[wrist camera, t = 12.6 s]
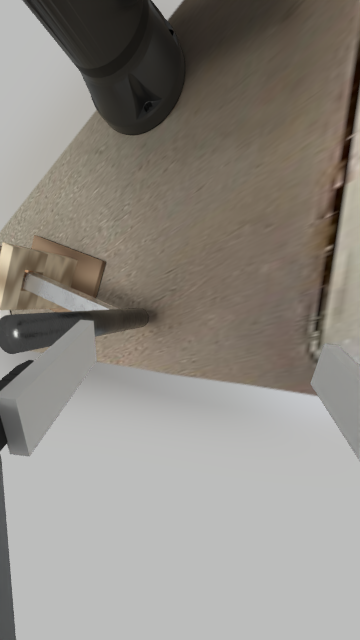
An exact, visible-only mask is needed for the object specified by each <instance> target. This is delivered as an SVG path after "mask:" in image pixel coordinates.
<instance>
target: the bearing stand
mask: <svg viewBox="0 0 360 640" xmlns="http://www.w3.org/2000/svg"><path fill="white" fill-rule="evenodd" d="M105 264H106V262H105V261H102V260H100V259H97V258H95V257H92V256H89V255H87V254H84V253H81V252H79V251H76V250H73V249H71V248H68V247H65V246H63V245H60V244H58V243H55V242H52V241H50V240H47V239H44V238H42V237H39V236H36V235H34V239H33V243H32V248H31V249H30V248H26V247H21V246H17V245H12V244H8V243H4V242H3V244H2V246H0V310H22V309H50V310H53V311H55V312H71V311H70V310H68V309H66V308H64V307H62V306H60V305H57V304H55V303H53V302H51V301H49V300H47V299H45V298H42V297H40V296H38V295H36V294H34V293H32V292H30V291H27V290H25V289H23V288H21V286H22V281H23V277H24V272H25V270H29V271H34V272H33V273H38V274H41V275H43V276H45V277H48V278H50V279H52V280H55V281H57V282H59V283H62V284H64V285H66V286H68V287H71V288H73V289H75V290H78V291H80V292H82V293H85V294H87V295H89V296H92V297H94V298H96V296H97V292H98V289H99V285H100V282H101V278H102V275H103V271H104V267H105Z"/></svg>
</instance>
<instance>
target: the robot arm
mask: <svg viewBox="0 0 360 640" xmlns="http://www.w3.org/2000/svg"><path fill="white" fill-rule="evenodd" d="M23 1H24V2H25V4H26V5H27V6H28V8H29V9H30V10H31V11H32V13H33V14H34V15H35V16H36V17H37V19H38V20H39V21H40V22H41V24H43V26H44V27H45V28H46V30H47V31H48V32H49V33H50V35H51V36H52V37H53V38H54V40H55V41H56V42H57V43H58V45H59V46H60V47H61V48H62V49H63V51H64V52H65V53H66V54H67V55H68V57H69V58H70V59H71V60H72V62H73V63H74V64H75V65H76V67H77V68H78V69H79V71H80V72H81V74H82V76H83V79H84V81H85V82H86V85H87V87H88V89H89V91H90V94H91V97H92V100H93V102H94V105H95V107H96V109H97V111H98V112H99V114H100V115H101V116H102V117H103V119H104V120H105V121H106V122H107V123H108V124H109V125H110V126H111V127H112V128H113V129H114V130H116V131H118V132H120V133H123V134H128V135H134V134H140V133H143V132H146V131H148V130H150V129H152V128H154V127H155V126H157V125H158V124H159V123H160V122H161V121H162V120H163V119H164V118H165V117H166V116H167V115H168V114H169V113H170V111H171V110H172V108H173V107H174V105H175V104H176V102H177V100H178V97H179V95H180V93H181V90H182V86H183V82H184V76H185V62H184V56H183V52H182V49H181V46H180V43H179V40H178V37H177V35H176V33H175V31H174V29H173V28H172V26H171V25H170V24H169V22H168V21H167V20H166V19H165V18H164V16H163V15H162V14H161V12H160V11H159V9H158V8H157V7H156V6H155V4H154V3H153V2H152V1H151V0H23ZM96 361H97V359H96V346H95V333H94V321H89V320H80V321H79V322H78V323H76V324H75V325H74V326H73V327H72V328H71V329H70V330H69V331H67V332H66V333H65V334H64V335H63V336H62V337H61V338H60V339H58V340H57V341H56V342H55V343H54V344H53V345H52V346H51V347H49V348H48V349H47V350H46V351H45V352H44V353H43V354H42V355H40V356H39V357H38V358H37V359H36V360H35V361H33V360H28V361H26V362H24V363H22V364H20V365H18V366H16V367H15V368H14V369H13V370H12V371H10V372H9V374H7V375H6V376H4V377H3V378H2V380H0V451H1V449H2V448H3V447H4V446H5V445H6V444H7V445H8V448H9V451H10V454H14V455H23V456H30V455H31V454H32V452H33V451H34V449H35V448H36V447H37V445H38V444H39V442H40V441H41V440H42V438H43V437H44V435H45V434H46V432H47V431H48V429H49V428H50V427H51V425H52V424H53V422H54V421H55V420H56V418H57V417H58V415H59V414H60V412H61V411H62V410H63V408H64V407H65V405H66V404H67V403H68V401H69V400H70V398H71V397H72V395H73V394H74V393H75V391H76V390H77V388H78V387H79V385H80V384H81V383H82V381H83V380H84V378H85V377H86V375H87V374H88V373H89V371H90V370H91V368H92V367H93V366H94V364H95V363H96ZM310 384H311V385H312V387H313V389H314V390H315V392H316V393H317V395H318V396H319V398H320V399H321V401H322V403H323V404H324V406H325V407H326V409H327V410H328V412H329V414H330V415H331V417H332V418H333V420H334V421H335V423H336V425H337V426H338V428H339V429H340V431H341V432H342V434H343V436H344V437H345V439H346V440H347V442H348V443H349V445H350V447H351V448H352V450H353V451H354V453H355V454H356V456H357V457H358V459H359V461H360V365H359V364H358V363H357V362H355V361H354V360H353V359H352V358H351V357H350V356H349V355H348V354H347V353H346V352H345V351H344V350H343V349H342V348H341V347H340V346H339V345H334V344H324V346H323V349H322V351H321V354H320V357H319V360H318V363H317V366H316V369H315V372H314V375H313V378H312V380H311V383H310ZM4 500H5V499H4V487H3V474H2V462H1V456H0V640H16V636H15V624H14V611H13V599H12V587H11V574H10V563H9V562H10V561H9V549H8V537H7V524H6V512H5V501H4Z"/></svg>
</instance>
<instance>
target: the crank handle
mask: <svg viewBox="0 0 360 640" xmlns="http://www.w3.org/2000/svg"><path fill="white" fill-rule="evenodd" d="M21 288H23V289H25V290H27V291H30V292H32V293H34V294H36V295H38V296H40V297H42V298H45V299H47V300H49V301H51V302H53V303H55V304H57V305H60V306H62V307H64V308H66V309H68V310H70V311H71V312H53V313H34V314H15V315H5V316H3V317H2V318H1V319H0V347H1V348H2V349H3V350H4V351H5V352H7V353H9V354H15V353H19V352H25V351H29V350H34V349H39V348H44V347H49V346H52V345H53V344H54V343H55V342H56V341H57V340H58V339H60V338H61V337H62V336H63V335H64V334H65V333H66V332H67V331H69V330H70V329H71V328H72V327H73V326H74V325H75V324H76V323H78V322H79V321H80V320H89V321H94V333H95V337H96V336H101V335H106V334H111V333H115V332H120V331H125V330H130V329H134V328H139V327H143V326H145V325H146V324H147V323H148V320H149V316H148V313H147V311H146V310H145V309H143V308H128V309H119V308H117V307H115V306H112V305H110V304H108V303H105V302H103V301H101V300H98V299H96V298H94V297H92V296H89V295H87V294H85V293H82V292H80V291H78V290H75V289H73V288H71V287H68V286H66V285H64V284H62V283H59V282H57V281H55V280H52V279H50V278H48V277H45V276H43V275H41V274H38V273H32V272H24V277H23V281H22V286H21Z"/></svg>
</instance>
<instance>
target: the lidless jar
mask: <svg viewBox="0 0 360 640" xmlns="http://www.w3.org/2000/svg"><path fill="white" fill-rule="evenodd" d="M5 315H11V314H10V310H0V319H1V318H2V317H3V316H5Z"/></svg>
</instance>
